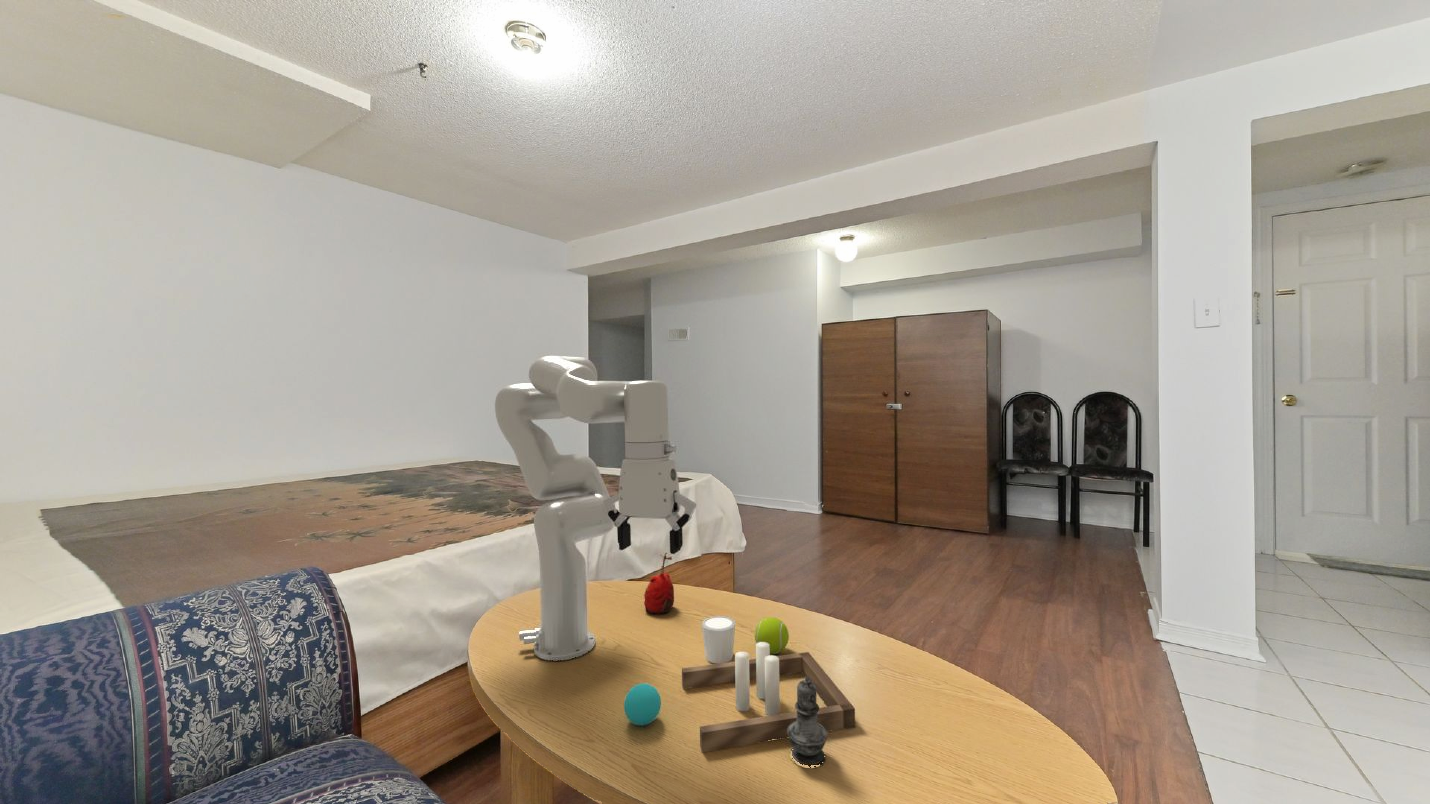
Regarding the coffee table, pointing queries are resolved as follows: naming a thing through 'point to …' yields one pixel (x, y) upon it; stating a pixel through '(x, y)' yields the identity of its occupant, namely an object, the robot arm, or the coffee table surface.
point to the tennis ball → (772, 634)
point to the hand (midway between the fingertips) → (649, 549)
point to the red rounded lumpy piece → (659, 592)
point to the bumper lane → (772, 726)
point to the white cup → (718, 638)
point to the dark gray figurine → (807, 727)
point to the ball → (642, 704)
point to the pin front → (742, 681)
